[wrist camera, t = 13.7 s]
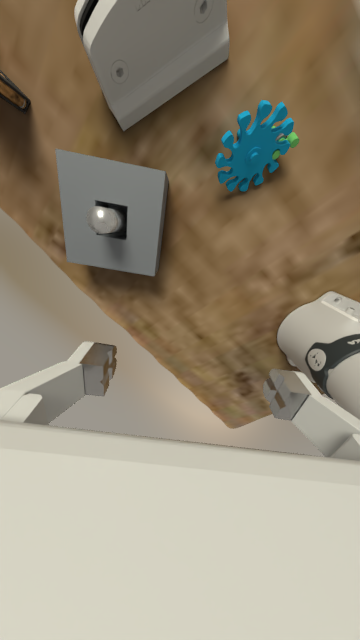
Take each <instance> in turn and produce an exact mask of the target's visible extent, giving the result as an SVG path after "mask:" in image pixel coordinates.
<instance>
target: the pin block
mask: <svg viewBox="0 0 360 640" xmlns="http://www.w3.org/2000/svg"><path fill="white" fill-rule="evenodd" d="M55 150H56V159H57V169H58V178H59V188H60V197H61V207H62V217H63V226H64V236H65V245H66V255H67V262H72V263H78V264H84V265H90V266H96V267H102V268H107V269H113V270H119V271H125V272H131V273H137V274H143V275H149V276H155V274H156V272H157V271H158V269H159V260H160V252H161V243H162V234H163V226H164V217H165V208H166V200H167V191H168V182H169V180H168V177H167V174H166V171H161V170H156V169H151V168H146V167H141V166H137V165H132V164H127V163H122V162H117V161H113V160H108V159H103V158H98V157H93V156H88V155H84V154H79V153H74V152H69V151H64V150H59V149H55ZM94 206H99V207H104V208H110V209H115V210H120V211H124V212H126V213H127V230H126V231H119V232H112V233H105V234H98V233H96V232H94V231H93V230H92V229H91V228H90V227H89V225H88V223H87V218H86V217H87V212H88V210H89V209H90V208H92V207H94Z"/></svg>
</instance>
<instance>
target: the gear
mask: <svg viewBox="0 0 360 640" xmlns="http://www.w3.org/2000/svg"><path fill="white" fill-rule="evenodd" d="M271 110H272V106H271V104H270V103H269V102H268V101H266V100H262V101H261V102H260V103H259V105H258V111H257V115H256V118H255V121H254V123H253V124H252V126H251V128H250V129H249V130H248V131H246V128H247V127H248V125H249V123H250V121H251V115H250V113H249V112H248V111H244V112H243V113H241V114H239V115H238V118H237V121H238V124H239V126H240V129H239V130H238V132H237V136H238V138H239V140H238V141H237V143H235V144H233V141H234V137H233V135H232V133H231V131H228V132H227V133H226V134H225V135H224V136H223V138H222V139H221V140H222V143H223V145H224V147H225V148H229V149H230V150H231V151H232V155H231V157H230V158H229V159H225V157H224V155H223V154H222V153H219V154H218V155H217V158H216V161H215V164H216V166H217V167H218V168H221V167H224V166H229V167H231V169H230V170H229V171H228V172H226V171H223V170H221V171H219V172H218V179H219V182H220V184H222V183H224V182H225V181H226V180H227V179H229V178H230V177H233V176H236V177H235V178H234V179H232V180H229V181H227V183H226V186H227V188H228V190H229V191H230V192H231V191H233V190H234V189H235V187H236V185H237V184H238V183H239V182H240V181H241V180H242V179H244V178H245V179H244V180H243V181H242V182H241V183H240V184H239V186H238V187H239V190H240V191H246V190H247V189H248V185H249V182H250V180H251V179H252V177H253V176H254V175H255V174H256V176H255V177H254V179H253V182H254V184H255V185H259V184H261V183H263V180H264V179H263V177H262V172H263V169H264V167H265V165H266V164H268V166H267V168H268V170H269V172H270V173H272V172H273V171H275V170H276V169H277V168H278V167H279V164H278V163H277V161H276V160H275V159H277V158H278V157H279V155H280V154H281V155H284V154H285V153H286V152H287V150H288V149H289V147H291V148H294V147H295V146H296V145H297V144H298V143H299V139H298V137H297V136H296V134H295V133H294V132H292V130H293V125H294V122H293V120H292V119H291V118H288V119H287V120H285V121H284V122H283V123H282V124H281V125H280V126H278V127H275V126H273V124H274V123H275V122H278V121H282V120H283V119H284V118H285V117H286V116H287V109H286V107H285V105H284V104H283V103H282V102H281V103H279V104H278V105H277V107H276V109H275V111H274V112H273V114H272V115H271V117H270V118H269V119H268V120H267V121H266V122H264V123H263V124H262V125H260V124H261V122H262V120H263V119H264V118H266V117H267V116H268V115H269V114H270V112H271ZM291 132H292V133H291ZM290 133H291V134H290ZM287 135H289V136H288V137H287Z"/></svg>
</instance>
